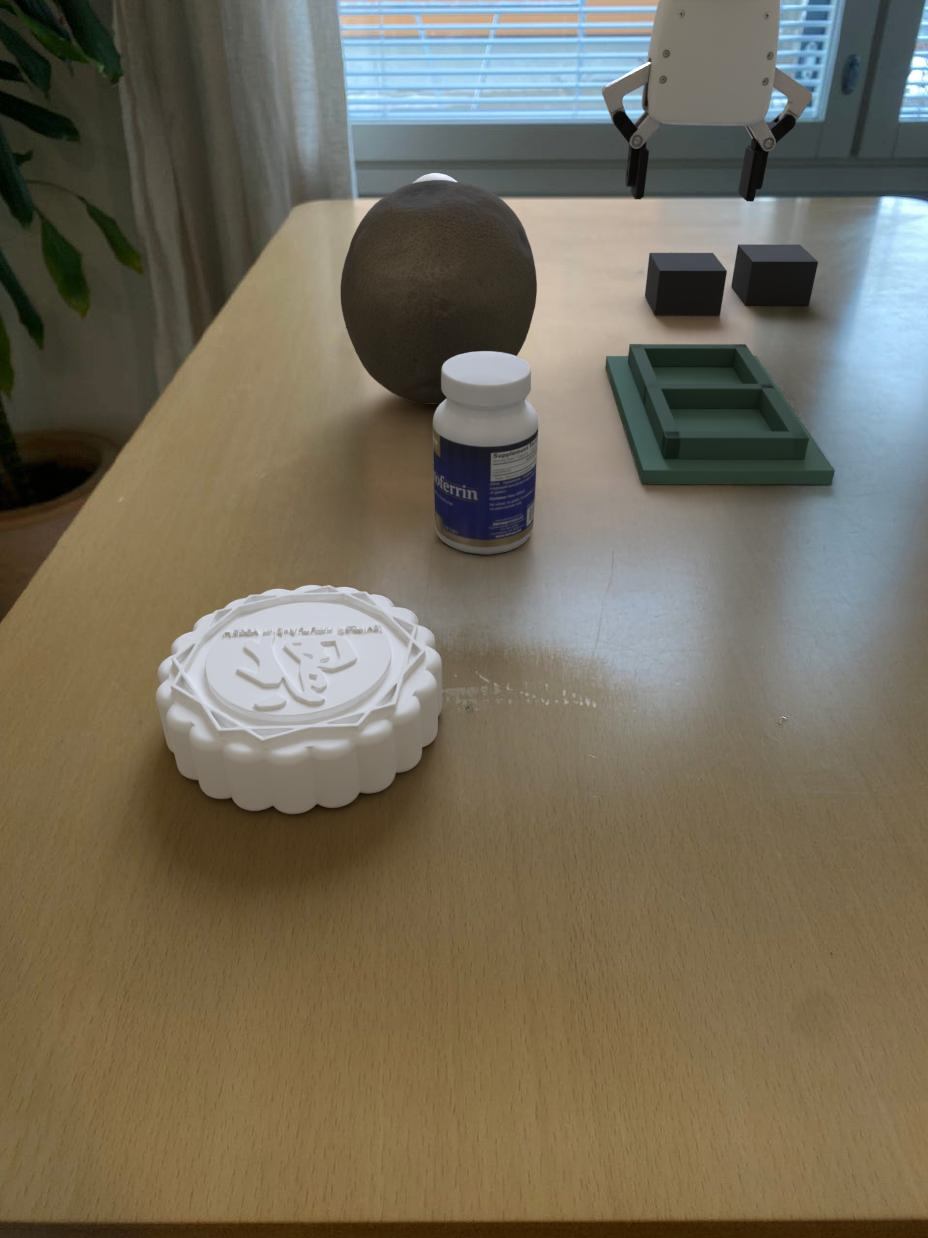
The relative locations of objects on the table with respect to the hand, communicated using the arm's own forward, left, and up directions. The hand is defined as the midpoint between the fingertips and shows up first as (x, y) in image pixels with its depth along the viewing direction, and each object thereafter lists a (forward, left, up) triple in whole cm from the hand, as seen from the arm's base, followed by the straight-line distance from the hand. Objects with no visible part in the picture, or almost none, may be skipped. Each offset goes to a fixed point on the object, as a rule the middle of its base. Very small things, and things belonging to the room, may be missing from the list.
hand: (691, 196), depth 83 cm
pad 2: (-9, -3, -10) cm, 14 cm away
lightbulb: (+23, -2, -10) cm, 25 cm away
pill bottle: (+19, +42, -10) cm, 47 cm away
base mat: (+3, +26, -10) cm, 28 cm away
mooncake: (+27, +58, -10) cm, 65 cm away
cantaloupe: (+22, +23, -10) cm, 33 cm away
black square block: (0, 0, -10) cm, 10 cm away
